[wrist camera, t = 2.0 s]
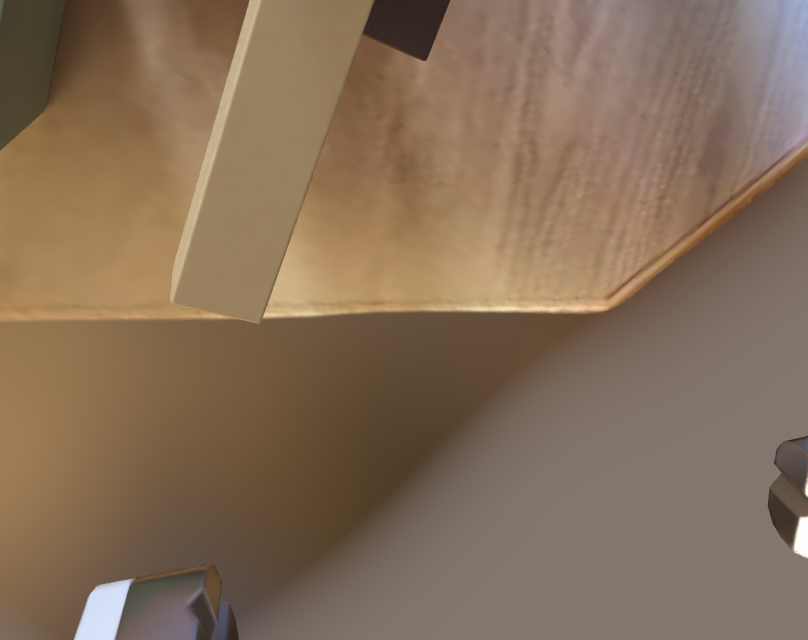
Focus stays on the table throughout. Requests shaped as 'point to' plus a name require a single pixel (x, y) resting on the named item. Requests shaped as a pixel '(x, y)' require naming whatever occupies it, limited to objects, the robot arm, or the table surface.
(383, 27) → the shelf stand
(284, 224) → the toy hammer
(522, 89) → the table surface
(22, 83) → the toy box
